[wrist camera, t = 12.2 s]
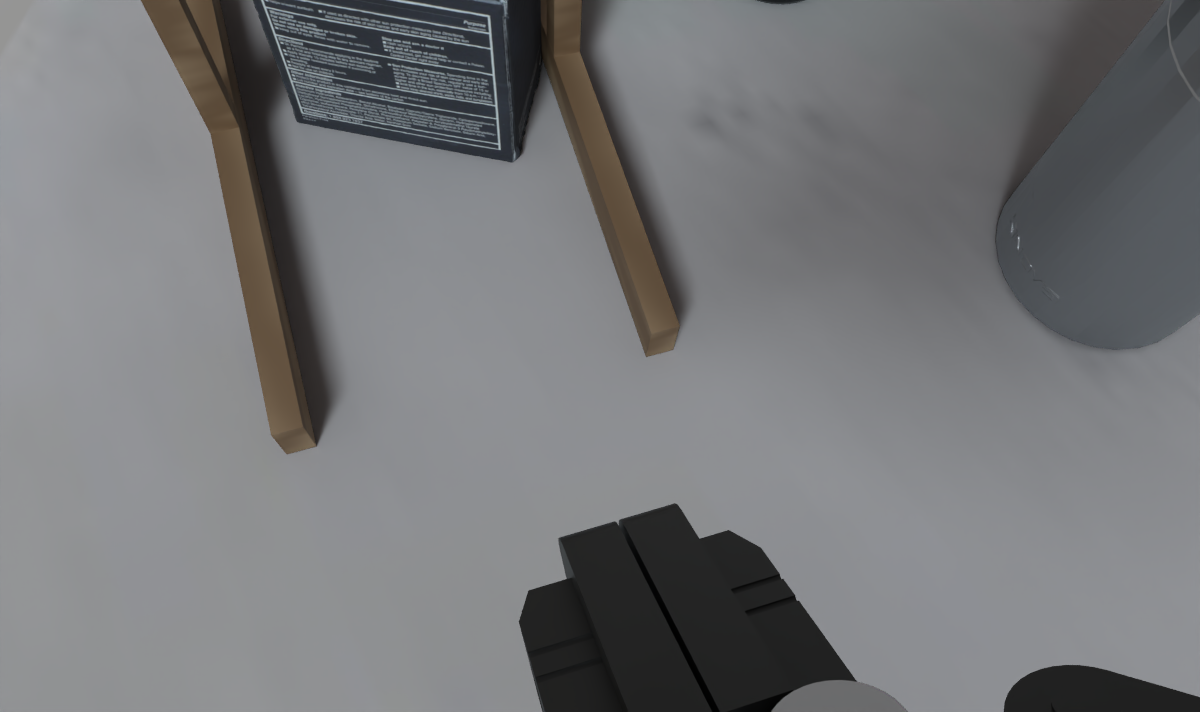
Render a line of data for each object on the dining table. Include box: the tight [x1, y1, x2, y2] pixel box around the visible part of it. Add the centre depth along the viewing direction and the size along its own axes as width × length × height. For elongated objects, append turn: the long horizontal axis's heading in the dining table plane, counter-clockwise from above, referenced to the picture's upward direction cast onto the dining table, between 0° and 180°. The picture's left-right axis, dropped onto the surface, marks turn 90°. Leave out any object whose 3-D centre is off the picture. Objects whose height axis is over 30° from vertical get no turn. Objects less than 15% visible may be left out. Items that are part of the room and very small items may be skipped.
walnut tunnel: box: [141, 0, 680, 454], centre depth 41 cm, size 16×24×14 cm
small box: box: [253, 0, 542, 162], centre depth 44 cm, size 11×6×10 cm, turn 79°
